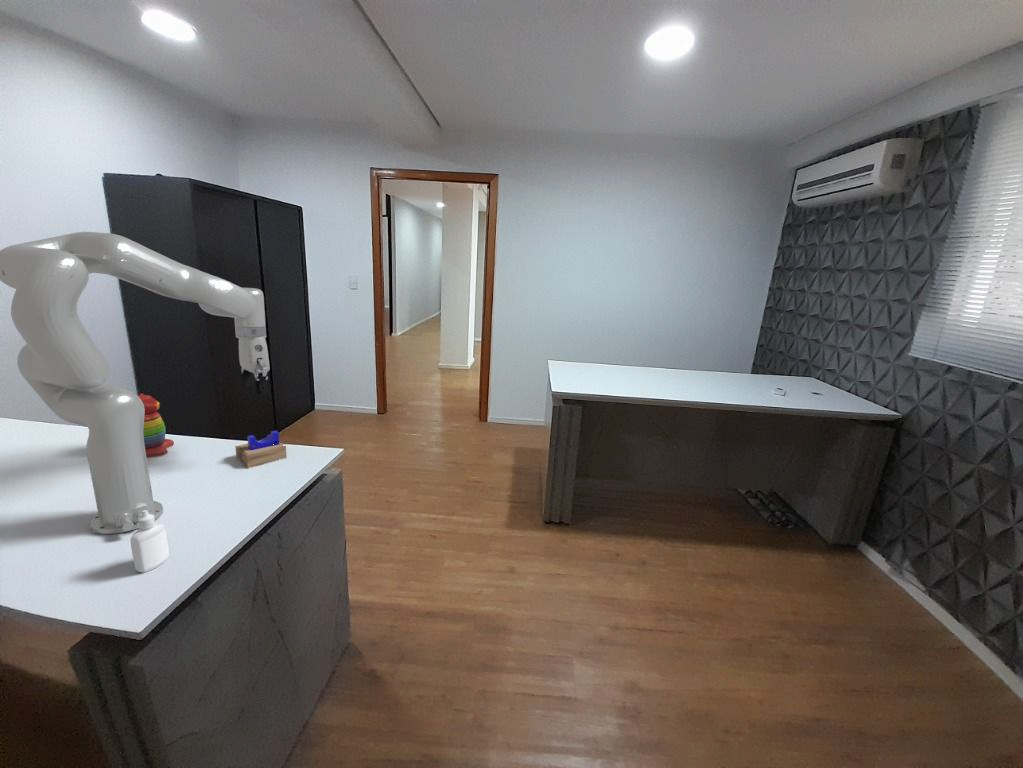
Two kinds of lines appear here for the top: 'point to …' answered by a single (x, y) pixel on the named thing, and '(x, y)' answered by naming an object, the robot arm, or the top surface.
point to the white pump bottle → (149, 544)
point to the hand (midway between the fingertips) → (255, 389)
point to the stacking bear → (154, 428)
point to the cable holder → (263, 441)
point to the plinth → (260, 454)
